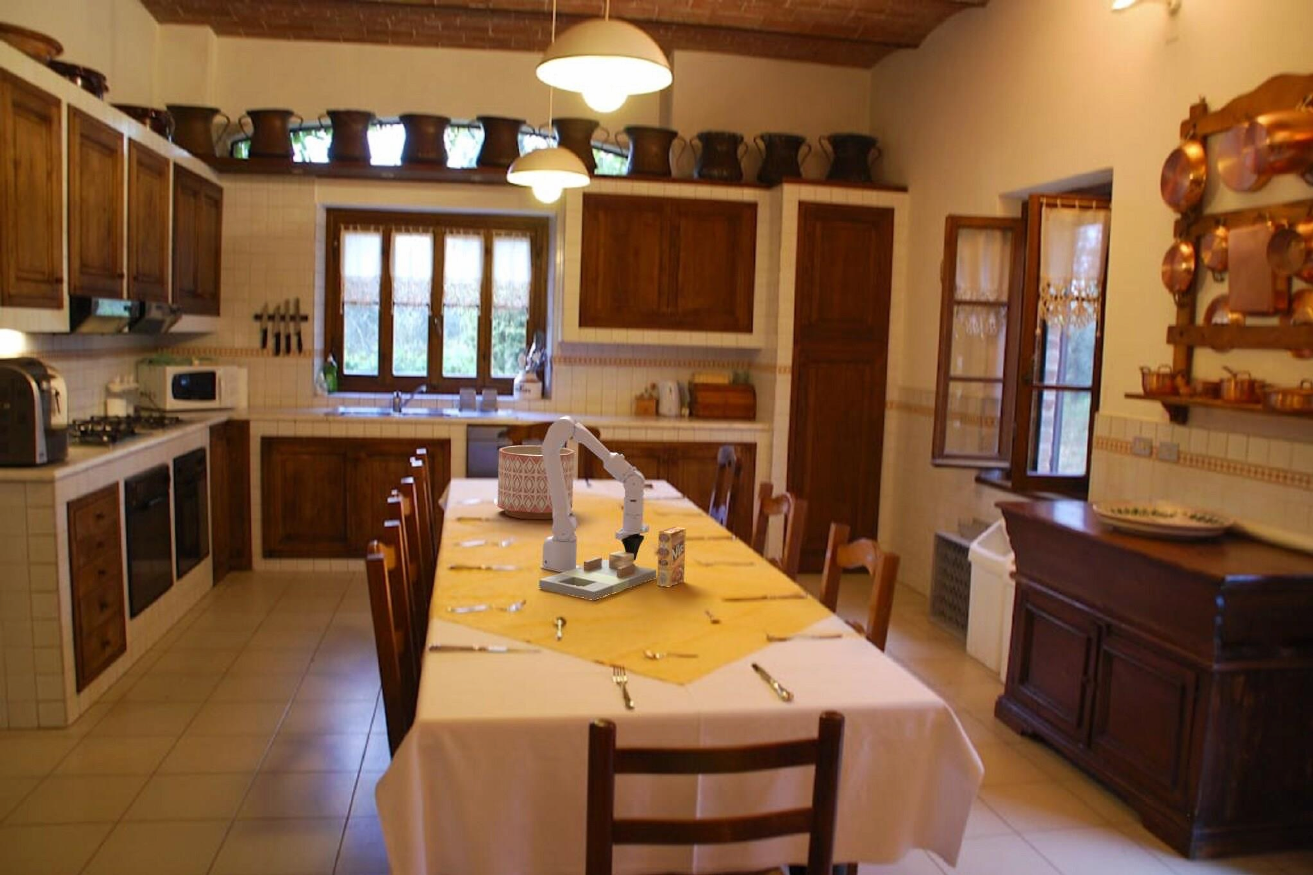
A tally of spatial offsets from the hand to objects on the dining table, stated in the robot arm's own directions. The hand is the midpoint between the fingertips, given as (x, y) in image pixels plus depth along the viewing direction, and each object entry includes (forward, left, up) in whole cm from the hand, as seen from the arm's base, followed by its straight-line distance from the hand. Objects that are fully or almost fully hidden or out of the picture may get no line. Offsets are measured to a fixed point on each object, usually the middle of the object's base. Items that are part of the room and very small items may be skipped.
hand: (631, 560), depth 285 cm
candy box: (+15, -3, -4) cm, 16 cm away
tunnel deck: (0, -16, -4) cm, 16 cm away
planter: (-75, +48, -4) cm, 89 cm away
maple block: (0, -5, -1) cm, 5 cm away
